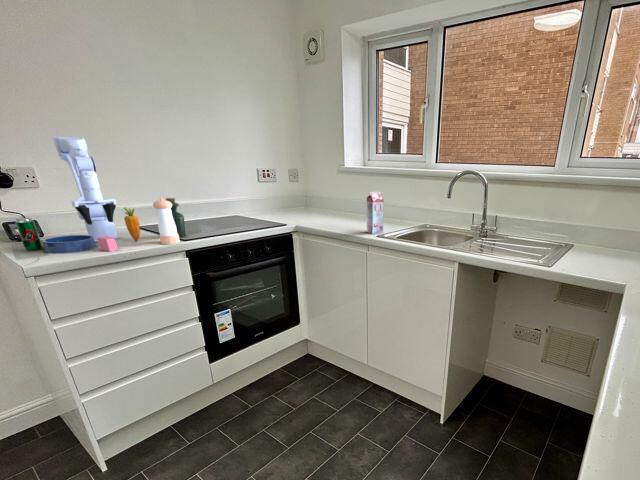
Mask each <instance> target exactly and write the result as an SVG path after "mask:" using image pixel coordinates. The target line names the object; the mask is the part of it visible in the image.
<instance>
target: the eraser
mask: <svg viewBox="0 0 640 480" xmlns="http://www.w3.org/2000/svg"><path fill="white" fill-rule="evenodd" d="M97 242H98V245H99V248H100V250H101V251H104V252H115V251H119V249H118V245H117V241H116V239H115V238H112V237H106V236H105V237H98V241H97Z"/></svg>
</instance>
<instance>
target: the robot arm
mask: <svg viewBox="0 0 640 480" xmlns="http://www.w3.org/2000/svg"><path fill="white" fill-rule="evenodd" d="M53 142H54V145H55V149H56V151H57V153H58V156H59V157H60V160H63V161H65V162H66V163H67V164H68V166H69V167H70V169H71V172H72V175H73V178H74V181H75V183H76V184H75V185H76V186H77V187H76V188H77V190H78V192H79V195H80V197H79V198H77V199H76V200H74V201H73V200H72V201H70V202H71V205H72V207H73V208H74V209H75V210H76V212H77V215H78V217H79V219H80V220H81V221H82V220H83V221H84V224H85V228H86V232H87V235H89V236H93V238H94V241H95V243H97V242H98V237H105V236H106V237H112V238H115V240H117V239H119V236H118V233H117V231H116V230H117V229H116V226H115V223H114V213H115V210H116V207H117V206H116V204H117V201H116V199H115V198H103V194H102V190H101V187H100V183H99V180H98V176H97V175H98V174H97V164H96V161H95V159H94V157H93V156H89V153H88V150H89V149H88V145H87V142H86V139H85V138H83V137H82V136H80V137H76V136H75V137H74V136H57V135H54V136H53Z"/></svg>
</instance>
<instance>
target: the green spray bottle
mask: <svg viewBox="0 0 640 480" xmlns="http://www.w3.org/2000/svg"><path fill="white" fill-rule="evenodd" d="M165 200H166V201H169V202H171V203H172V208H171V212H172V217H173V220H174V222H175V225H176V229H177V234H178V235H179V239H182V238H185V237H186V236H187V234H186V225H185V224H186V223H185V216H184V215H183V214H182V213H180V212H178V211H177V209H178V207H179V206H180V204H179V202H176V198H175V197H166V198H165Z"/></svg>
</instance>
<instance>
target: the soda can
mask: <svg viewBox="0 0 640 480" xmlns="http://www.w3.org/2000/svg"><path fill="white" fill-rule="evenodd" d="M15 226H16V228H17V231H18V234H19V237H20V239H21V242H22V246H23V247H24V250H25V251H29V252H33V251H40V250H42V249H44V245H43V242H42V241H41V238H40V235H39V232H38V228H37V225H36V224H35V221H34V220H33V218H31V217H24V218H22V217H21V218H16V219H15Z"/></svg>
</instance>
